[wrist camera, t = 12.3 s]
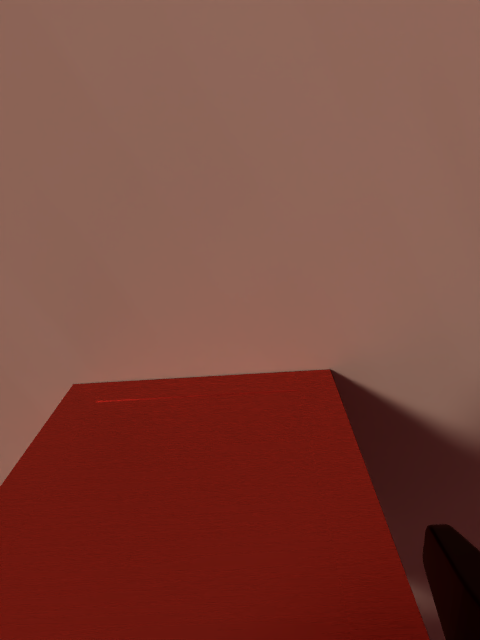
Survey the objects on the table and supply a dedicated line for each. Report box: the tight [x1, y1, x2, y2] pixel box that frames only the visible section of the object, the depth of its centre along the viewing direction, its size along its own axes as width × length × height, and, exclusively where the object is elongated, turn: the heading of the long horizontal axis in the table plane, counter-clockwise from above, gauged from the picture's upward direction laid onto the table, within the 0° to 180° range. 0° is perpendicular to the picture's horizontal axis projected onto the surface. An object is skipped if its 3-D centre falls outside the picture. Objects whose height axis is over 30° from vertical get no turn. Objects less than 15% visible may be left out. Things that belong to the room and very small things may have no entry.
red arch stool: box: [0, 369, 430, 640], centre depth 8 cm, size 6×5×6 cm
